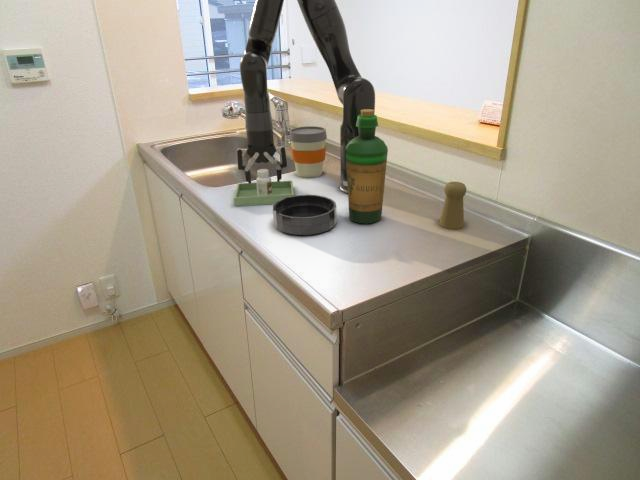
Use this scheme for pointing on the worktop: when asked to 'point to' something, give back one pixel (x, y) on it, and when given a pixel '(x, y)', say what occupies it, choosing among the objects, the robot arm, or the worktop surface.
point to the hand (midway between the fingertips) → (264, 181)
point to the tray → (249, 196)
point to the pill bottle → (264, 183)
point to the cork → (453, 206)
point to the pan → (304, 214)
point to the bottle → (366, 170)
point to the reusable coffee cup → (308, 150)
